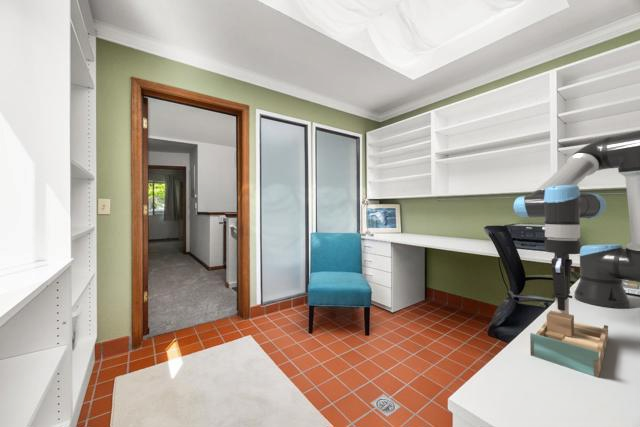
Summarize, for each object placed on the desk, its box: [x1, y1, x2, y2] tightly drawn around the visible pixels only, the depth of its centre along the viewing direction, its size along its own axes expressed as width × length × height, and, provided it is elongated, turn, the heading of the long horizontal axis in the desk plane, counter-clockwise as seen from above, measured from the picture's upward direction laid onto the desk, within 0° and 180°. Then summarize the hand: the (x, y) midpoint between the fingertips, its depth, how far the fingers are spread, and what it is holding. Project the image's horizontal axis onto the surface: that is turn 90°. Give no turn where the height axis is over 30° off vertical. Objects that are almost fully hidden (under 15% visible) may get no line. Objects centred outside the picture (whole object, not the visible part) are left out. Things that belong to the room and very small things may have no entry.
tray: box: [529, 320, 609, 378], centre depth 71 cm, size 27×12×6 cm, turn 129°
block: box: [546, 310, 575, 337], centre depth 74 cm, size 5×5×4 cm
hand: (562, 320), depth 76 cm, fingers closed
